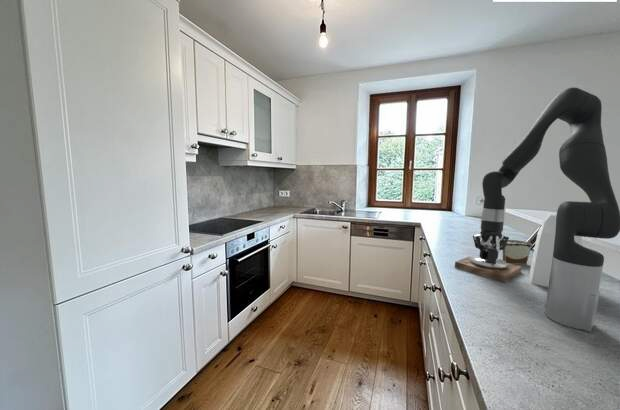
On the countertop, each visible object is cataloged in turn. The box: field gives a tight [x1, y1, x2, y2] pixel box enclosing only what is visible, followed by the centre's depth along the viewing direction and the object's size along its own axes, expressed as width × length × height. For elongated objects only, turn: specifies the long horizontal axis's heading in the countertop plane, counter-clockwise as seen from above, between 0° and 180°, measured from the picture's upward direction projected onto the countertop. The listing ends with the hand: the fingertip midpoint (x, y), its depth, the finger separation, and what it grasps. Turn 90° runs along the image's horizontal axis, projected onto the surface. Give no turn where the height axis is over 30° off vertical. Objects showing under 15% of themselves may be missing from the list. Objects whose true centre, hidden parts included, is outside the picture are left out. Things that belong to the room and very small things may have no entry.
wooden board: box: [454, 254, 522, 283], centre depth 104 cm, size 18×18×3 cm
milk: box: [528, 213, 583, 288], centre depth 90 cm, size 12×12×26 cm
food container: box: [502, 239, 533, 265], centre depth 114 cm, size 12×6×10 cm, turn 84°
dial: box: [469, 243, 507, 269], centre depth 103 cm, size 13×13×8 cm
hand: (488, 258), depth 103 cm, fingers closed on dial, 4 cm apart
